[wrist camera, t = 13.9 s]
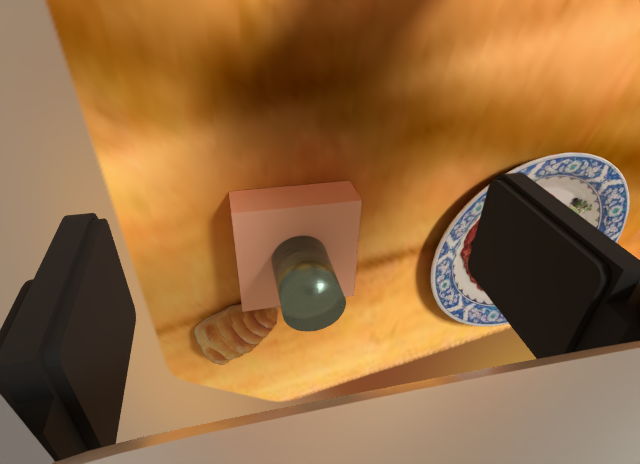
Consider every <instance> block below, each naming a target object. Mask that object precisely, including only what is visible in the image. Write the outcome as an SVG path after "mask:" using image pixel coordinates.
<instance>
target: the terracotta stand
mask: <svg viewBox="0 0 640 464" xmlns="http://www.w3.org/2000/svg"><path fill="white" fill-rule="evenodd" d="M229 199H230V208H231V217H232V225H233V234H234V243H235V251H236V260H237V269H238V277H239V286H240V294H241V303H242V312H244V311H251V310H258V309H265V308H272V307H279V306H281V305H280V300H279V295H278V291H277V286H276V281H275V277H274V272H273V267H272V255H273V253H274V251H275V249H276V248H277V247H278V246H279V245H280V244H281V243H282V242H284V241H285V240H287V239H289V238H292V237H295V236H311V237H314V238H316V239H318V240H319V241H321V242H322V243H323V245H324V246H325V248H326V251H327V253H328V256H329V259H330V261H331V264H332V266H333V269H334V271H335V274H336V276H337V279H338V281H339V284H340V286H341V289H342V292H343V294H344V297H347V296H354V287H355V276H356V264H357V253H358V241H359V230H360V218H361V207H362V200H361V198H360V196H359V195H358V193H357V191H356V190H355V188H354V186H353V185H352V183H351V181H339V182H328V183H317V184H306V185H295V186H284V187H273V188H262V189H252V190H241V191H230V192H229Z"/></svg>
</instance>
